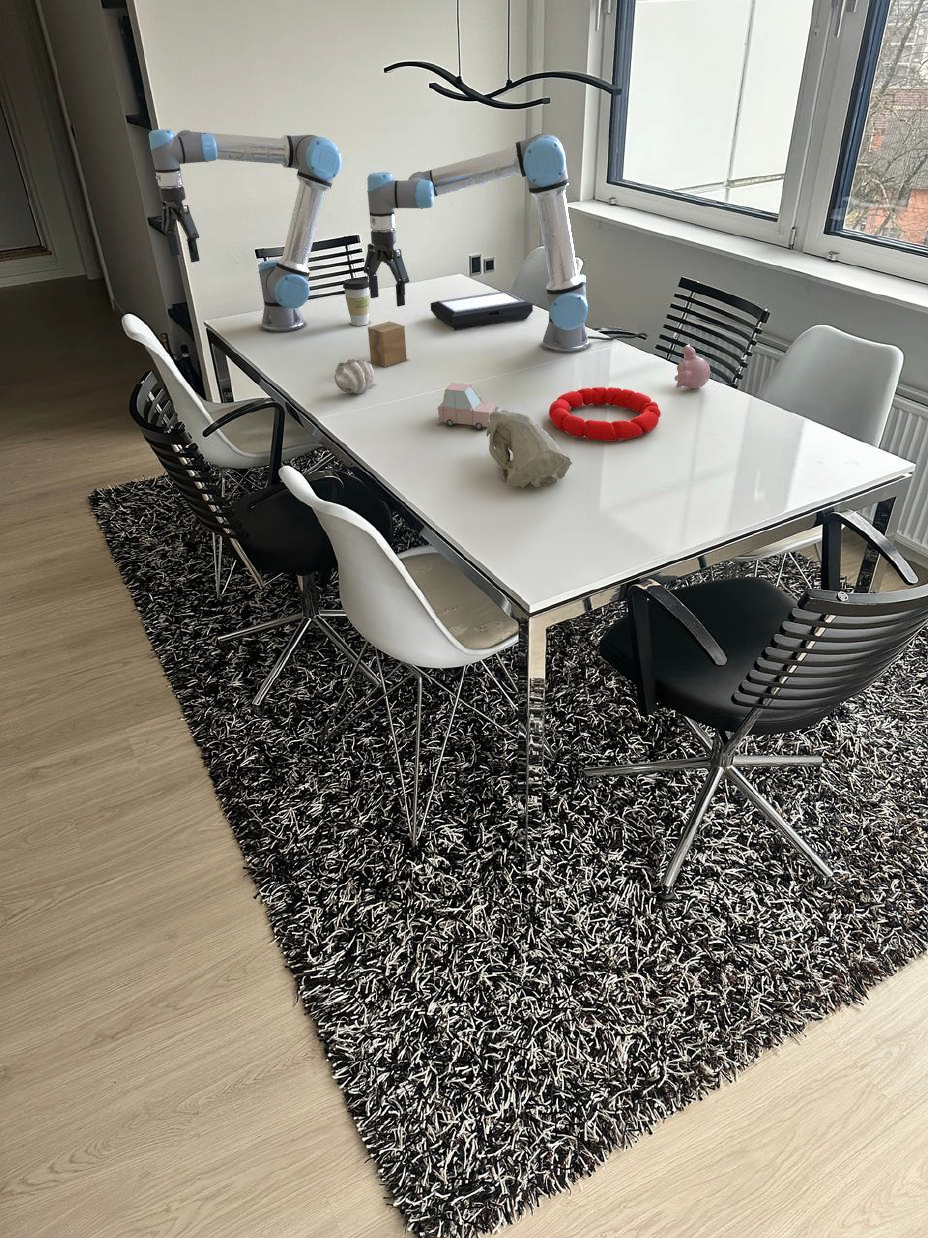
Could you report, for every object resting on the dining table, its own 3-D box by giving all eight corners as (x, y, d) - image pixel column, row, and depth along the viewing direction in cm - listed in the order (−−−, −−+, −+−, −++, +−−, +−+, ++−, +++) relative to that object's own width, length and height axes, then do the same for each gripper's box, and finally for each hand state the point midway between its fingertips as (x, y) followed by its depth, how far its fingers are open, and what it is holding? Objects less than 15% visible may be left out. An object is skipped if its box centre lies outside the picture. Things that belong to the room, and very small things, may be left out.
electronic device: (452, 314, 311) (430, 300, 326) (452, 332, 314) (431, 318, 330) (532, 301, 321) (508, 289, 336) (532, 319, 325) (508, 305, 340)
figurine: (665, 387, 264) (669, 347, 257) (693, 380, 268) (698, 340, 261) (686, 396, 257) (690, 355, 250) (714, 388, 262) (720, 348, 255)
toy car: (488, 432, 240) (488, 396, 234) (436, 426, 244) (434, 390, 239) (499, 419, 247) (499, 384, 241) (448, 413, 252) (447, 379, 246)
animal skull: (496, 517, 219) (521, 479, 201) (463, 429, 225) (484, 384, 207) (557, 503, 225) (586, 465, 206) (523, 417, 231) (549, 373, 212)
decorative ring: (589, 435, 224) (684, 402, 234) (527, 398, 247) (617, 369, 256) (589, 461, 229) (683, 427, 238) (529, 422, 251) (617, 393, 260)
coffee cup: (372, 326, 323) (368, 283, 314) (345, 327, 323) (340, 284, 315) (374, 318, 331) (371, 276, 322) (348, 319, 331) (344, 277, 323)
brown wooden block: (370, 361, 291) (367, 327, 285) (392, 355, 296) (389, 321, 290) (385, 367, 286) (382, 332, 280) (406, 360, 291) (404, 325, 285)
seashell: (327, 392, 269) (323, 359, 263) (372, 382, 274) (369, 350, 269) (340, 402, 261) (336, 369, 255) (386, 392, 267) (383, 359, 261)
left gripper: (141, 183, 282) (156, 254, 294) (179, 192, 267) (193, 266, 279) (163, 180, 286) (177, 250, 298) (201, 188, 271) (214, 262, 283)
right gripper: (348, 225, 275) (354, 296, 287) (398, 237, 260) (403, 311, 272) (368, 222, 279) (373, 291, 291) (418, 233, 264) (421, 306, 276)
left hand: (185, 258), depth 289 cm, fingers open, 13 cm apart
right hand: (387, 301), depth 282 cm, fingers open, 13 cm apart
